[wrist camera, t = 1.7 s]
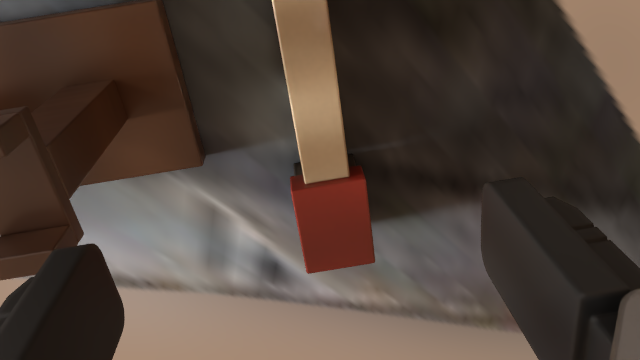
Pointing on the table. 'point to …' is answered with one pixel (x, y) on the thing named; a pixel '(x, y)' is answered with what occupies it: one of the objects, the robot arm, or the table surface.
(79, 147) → the rack
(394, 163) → the table surface
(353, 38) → the table surface
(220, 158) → the table surface
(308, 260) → the brush
